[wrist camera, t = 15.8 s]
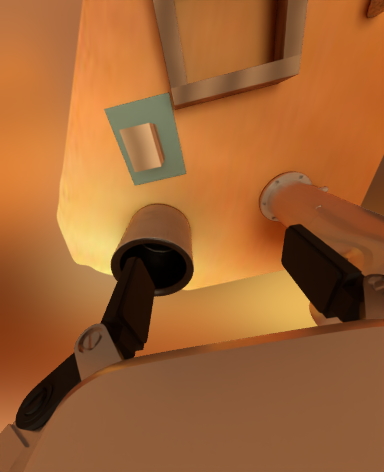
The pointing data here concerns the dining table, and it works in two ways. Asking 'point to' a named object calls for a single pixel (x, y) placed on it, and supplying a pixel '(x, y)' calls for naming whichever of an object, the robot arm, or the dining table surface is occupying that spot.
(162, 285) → the planter
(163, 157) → the beech block
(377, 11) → the cuneiform tablet
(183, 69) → the box
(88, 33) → the dining table surface
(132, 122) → the mat
